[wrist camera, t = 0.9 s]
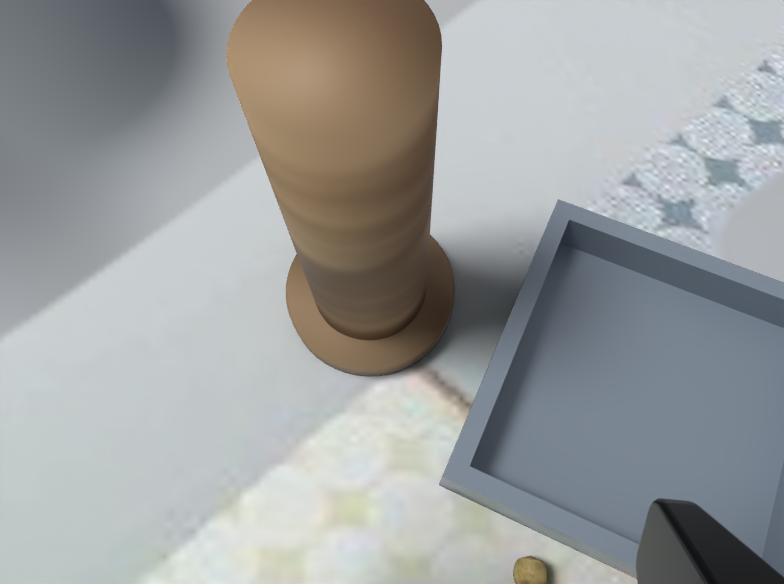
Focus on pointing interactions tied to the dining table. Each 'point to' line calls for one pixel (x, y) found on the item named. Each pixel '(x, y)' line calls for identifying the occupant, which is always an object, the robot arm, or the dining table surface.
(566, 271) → the box
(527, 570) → the gavel
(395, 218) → the walnut handle
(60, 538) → the dining table surface
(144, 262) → the dining table surface
